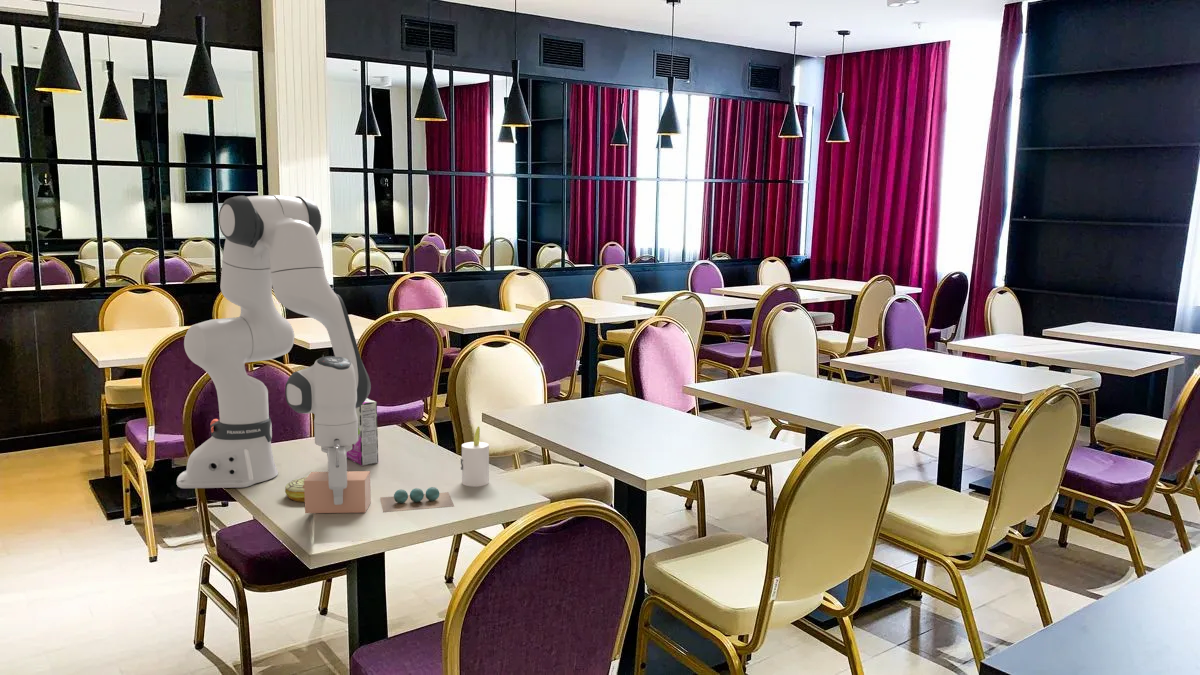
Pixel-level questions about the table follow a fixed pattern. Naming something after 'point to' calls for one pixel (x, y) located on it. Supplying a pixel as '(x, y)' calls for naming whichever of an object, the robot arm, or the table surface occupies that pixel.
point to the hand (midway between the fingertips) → (338, 497)
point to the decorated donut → (296, 490)
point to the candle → (475, 462)
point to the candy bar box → (366, 435)
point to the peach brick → (323, 498)
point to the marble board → (415, 506)
